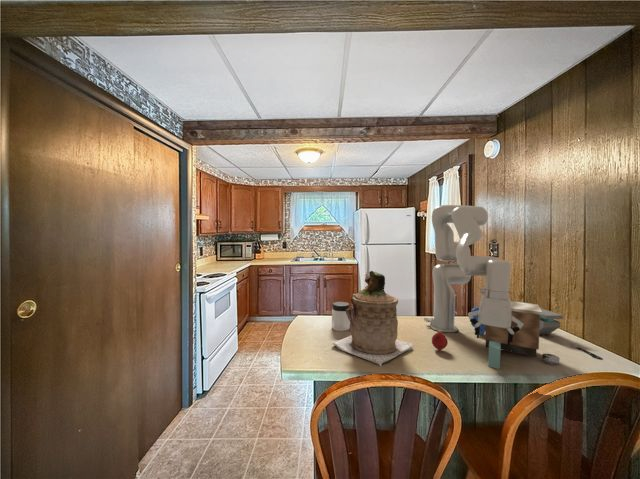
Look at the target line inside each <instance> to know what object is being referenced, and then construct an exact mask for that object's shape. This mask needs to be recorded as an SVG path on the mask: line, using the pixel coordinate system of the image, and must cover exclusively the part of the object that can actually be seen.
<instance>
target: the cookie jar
mask: <svg viewBox="0 0 640 479" xmlns="http://www.w3.org/2000/svg"><path fill="white" fill-rule="evenodd" d="M364 282H365V283H366V286H364V288H363V289H361V290H359V291H358V292H357V293H356V294H355V293H353V294H352V295H351V297H350V303H351V304H352V306H350V308H349V309H346V315H347V316H348V319H349V321H350V327H349V330H348V332H349V336H347V337H344V338H342V339H339V340H334V341H331V344H332V345H334V346H336V348H338V349H339V350H340V351H341V352H342V351H343V352H346V353H347V354H351V355H354V356H355V357H359V358H361V359H364V360H367V361H370V362H372V363H375V364H377V365H378V366H380V367H382V366H383V364H384V363H386V362H389V361H390V360H392V359H394V358H396V357H398V356H400V355H402V354H403V353H405V352H408V351H411V350H412V349H413V346H414V345H413V343H411V342H407V341H404V340H399V339H398V325H399V322H398V316H397V306H398V303H399V299H398V298H397V297H396V296H392V295H390V294H389V293H386V292H385V285H386V277H385V275H384V274H382V273H379V272H376V271H373V270H370V271H368V274H366V275H365V279H364Z"/></svg>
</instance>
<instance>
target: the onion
mask: <svg viewBox="0 0 640 479" xmlns="http://www.w3.org/2000/svg"><path fill="white" fill-rule="evenodd" d="M431 344H432V346H433V347H434V348H435V349H436V350H437V351H442V350H444V349H445V348H447V346H448V338H447V336H446V335H445V334H444V333H443V332H442V331H437V332H436V333H434V334H433V336H432V337H431Z"/></svg>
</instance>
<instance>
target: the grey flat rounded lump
mask: <svg viewBox="0 0 640 479" xmlns="http://www.w3.org/2000/svg"><path fill="white" fill-rule="evenodd" d="M560 358H561V357H559V356H557V355H556V354H552V353H542V354H541V361H542V362H543V363H544V364H545V365H549V366H560V360H561V359H560Z"/></svg>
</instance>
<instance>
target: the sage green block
mask: <svg viewBox="0 0 640 479" xmlns="http://www.w3.org/2000/svg"><path fill="white" fill-rule="evenodd" d="M501 351H502V350H501V343H499V342H494V341H489V347H488V359H487V360H488V362H487V363H488V364H487V366H488V367H489V368H492V369H493V368H494V369H498V370H500V369H501Z"/></svg>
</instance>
